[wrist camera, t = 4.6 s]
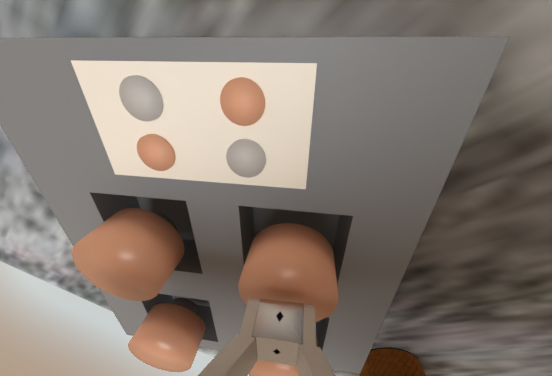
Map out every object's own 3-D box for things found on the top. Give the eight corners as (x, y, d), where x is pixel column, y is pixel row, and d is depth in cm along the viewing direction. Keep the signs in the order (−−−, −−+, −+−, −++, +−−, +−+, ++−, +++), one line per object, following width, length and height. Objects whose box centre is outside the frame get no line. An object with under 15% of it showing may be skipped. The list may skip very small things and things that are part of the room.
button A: (337, 213, 12) (346, 266, 9) (326, 271, 15) (331, 330, 11) (253, 205, 13) (234, 253, 10) (256, 262, 15) (241, 316, 12)
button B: (186, 199, 13) (146, 243, 10) (199, 255, 16) (169, 306, 12) (115, 193, 14) (55, 233, 11) (138, 248, 16) (94, 294, 13)
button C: (319, 308, 17) (321, 367, 13) (313, 341, 19) (314, 398, 16) (258, 299, 17) (245, 354, 14) (260, 332, 20) (249, 386, 16)
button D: (207, 292, 18) (184, 344, 15) (215, 325, 20) (196, 376, 17) (153, 285, 18) (118, 333, 15) (166, 318, 21) (139, 365, 17)
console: (443, 45, 10) (522, 34, 7) (352, 326, 22) (360, 381, 18) (44, 45, 13) (-70, 36, 9) (152, 296, 25) (123, 340, 21)
